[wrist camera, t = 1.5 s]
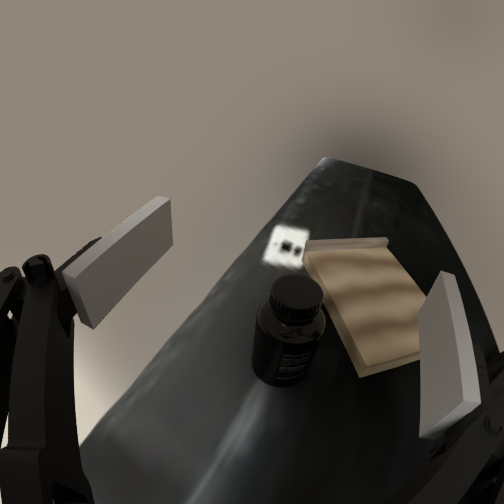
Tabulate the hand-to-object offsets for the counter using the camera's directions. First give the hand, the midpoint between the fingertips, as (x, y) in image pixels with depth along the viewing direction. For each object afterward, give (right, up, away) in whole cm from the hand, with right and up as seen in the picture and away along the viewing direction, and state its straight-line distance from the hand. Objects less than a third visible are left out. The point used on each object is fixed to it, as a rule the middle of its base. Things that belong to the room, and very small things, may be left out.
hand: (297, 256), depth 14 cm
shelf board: (+16, -8, +29) cm, 34 cm away
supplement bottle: (+1, -13, +20) cm, 24 cm away
